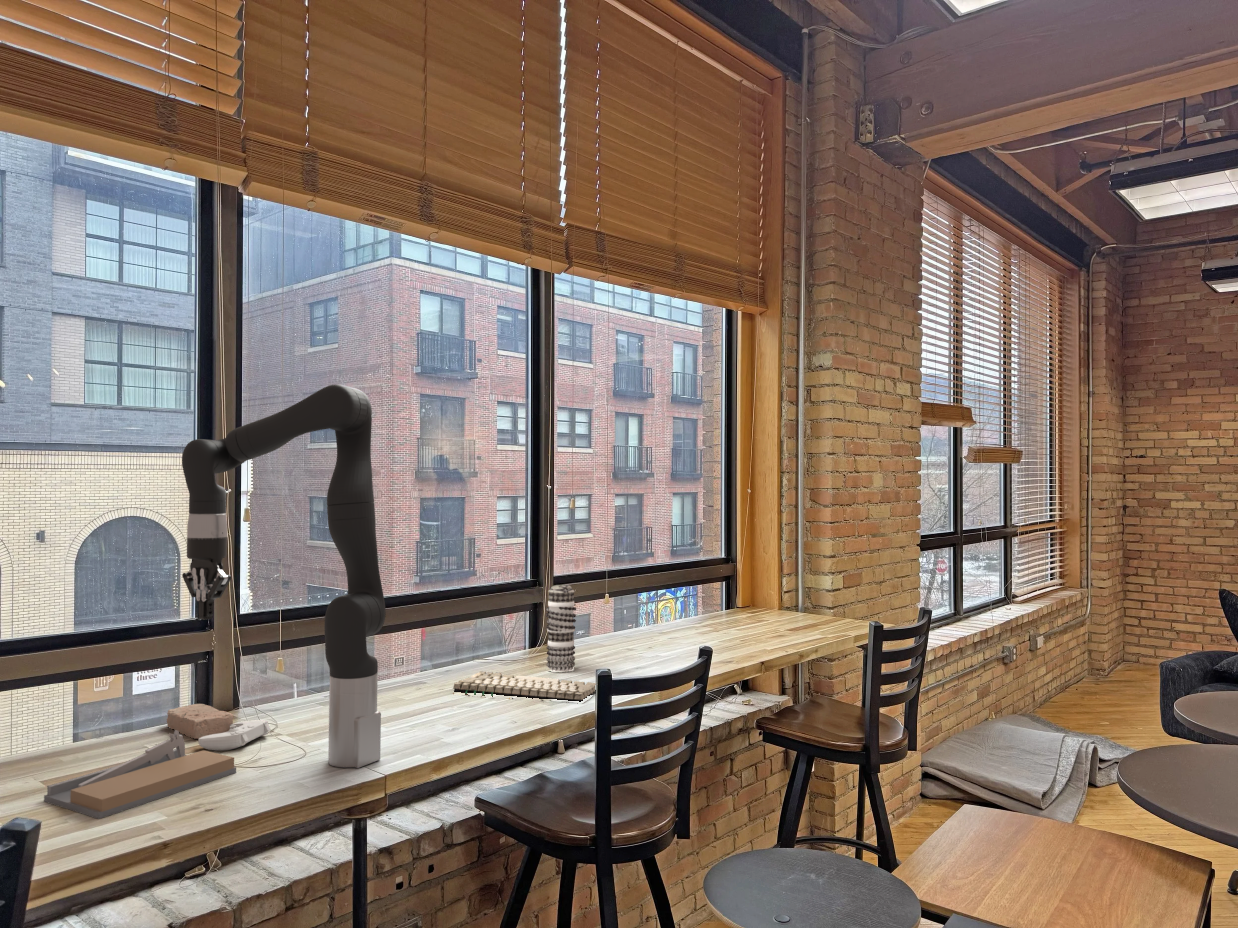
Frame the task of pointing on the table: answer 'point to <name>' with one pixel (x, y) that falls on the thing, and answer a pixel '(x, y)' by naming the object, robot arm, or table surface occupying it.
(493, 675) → the mechanical keyboard
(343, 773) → the table surface
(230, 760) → the plank board
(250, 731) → the game controller
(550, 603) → the decorative candle
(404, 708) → the table surface
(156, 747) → the caliper
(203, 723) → the brick
